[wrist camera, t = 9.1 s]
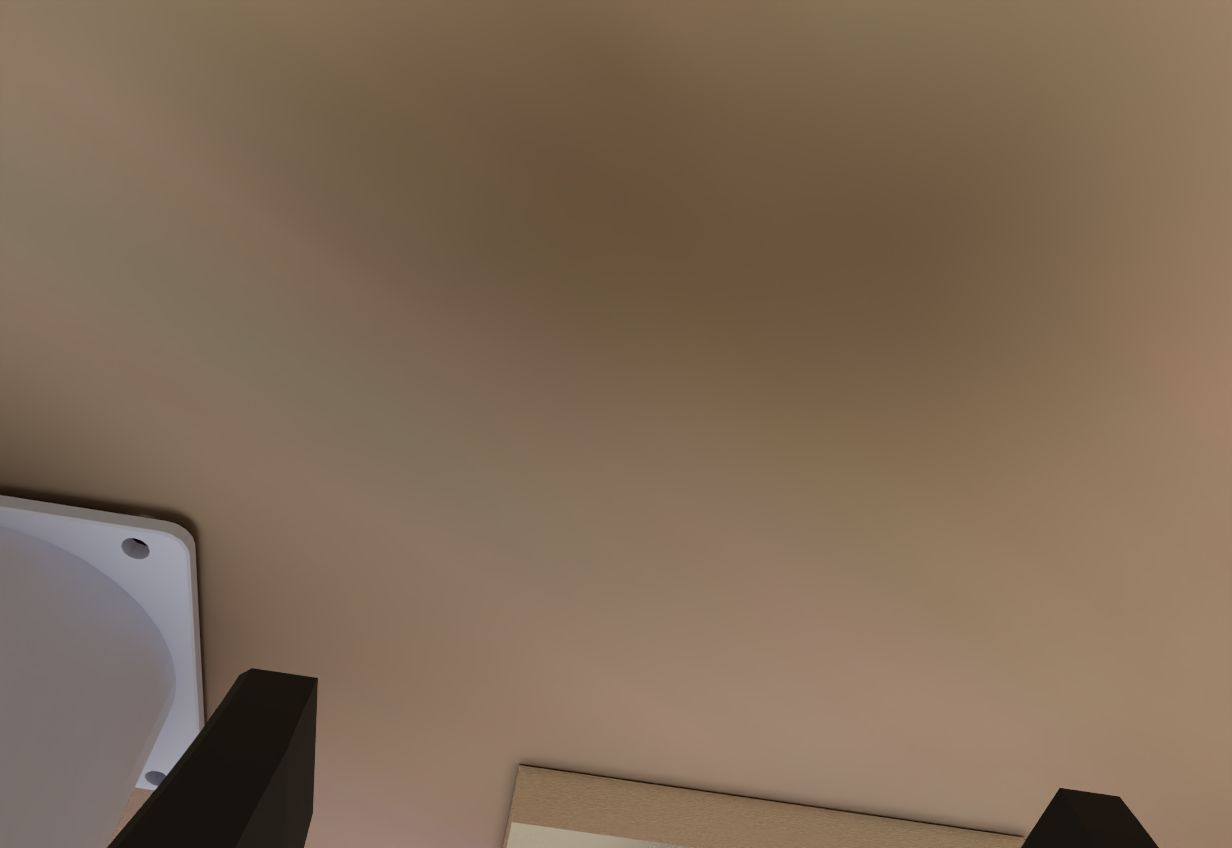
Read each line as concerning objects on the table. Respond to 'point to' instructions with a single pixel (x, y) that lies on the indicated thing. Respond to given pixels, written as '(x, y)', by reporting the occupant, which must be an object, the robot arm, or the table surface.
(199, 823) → the robot arm
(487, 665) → the table surface
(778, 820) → the shaft fixture
